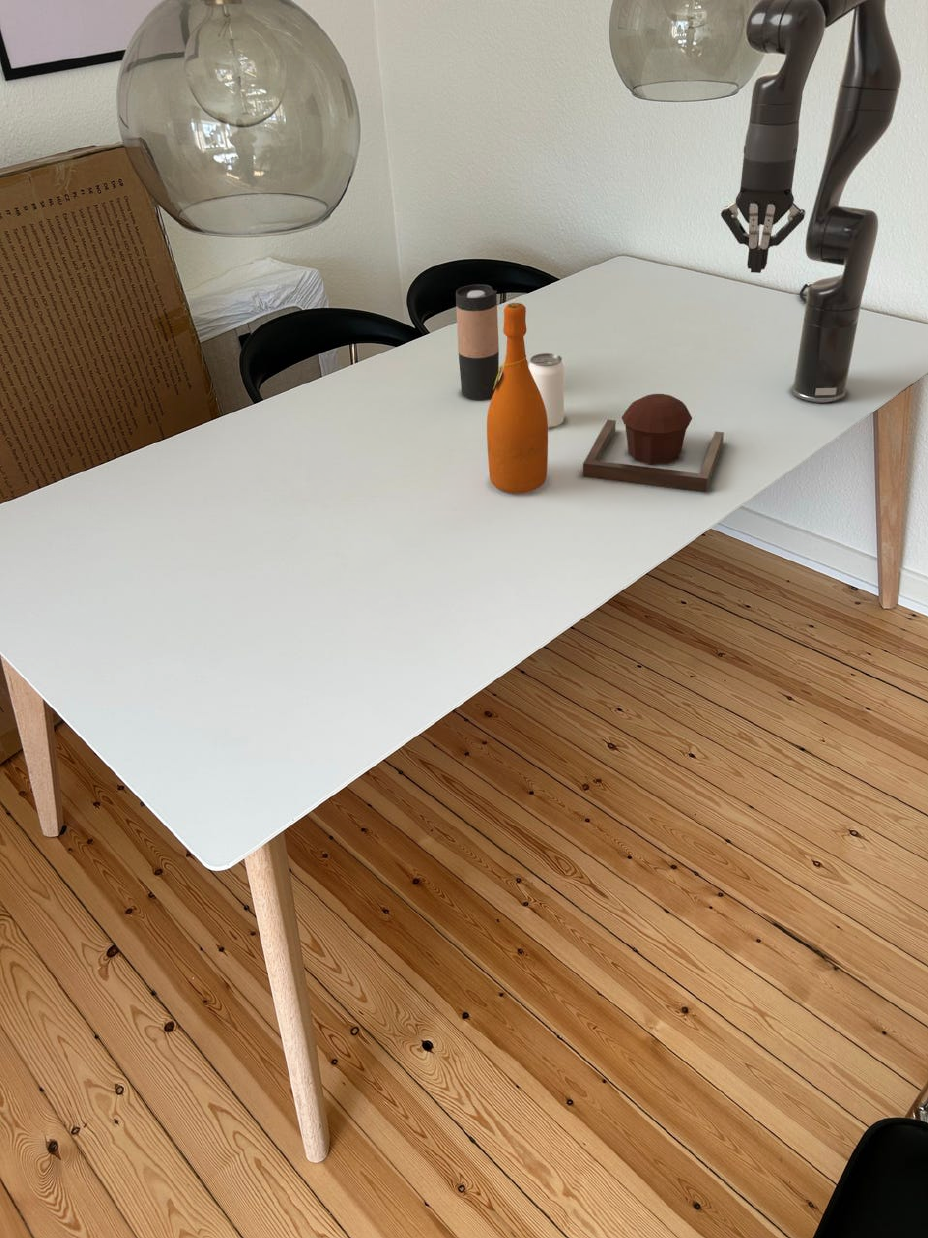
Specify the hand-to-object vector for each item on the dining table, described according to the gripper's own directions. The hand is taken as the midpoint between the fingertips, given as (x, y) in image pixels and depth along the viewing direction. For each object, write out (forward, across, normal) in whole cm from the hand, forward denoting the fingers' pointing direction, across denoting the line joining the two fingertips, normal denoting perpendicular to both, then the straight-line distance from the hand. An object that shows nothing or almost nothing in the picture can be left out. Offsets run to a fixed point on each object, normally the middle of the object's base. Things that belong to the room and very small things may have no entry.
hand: (756, 270), depth 161 cm
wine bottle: (+29, +32, +25) cm, 50 cm away
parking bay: (+29, +12, +12) cm, 33 cm away
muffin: (+29, +12, +9) cm, 33 cm away
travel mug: (+29, +50, -7) cm, 58 cm away
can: (+29, +34, +2) cm, 45 cm away
